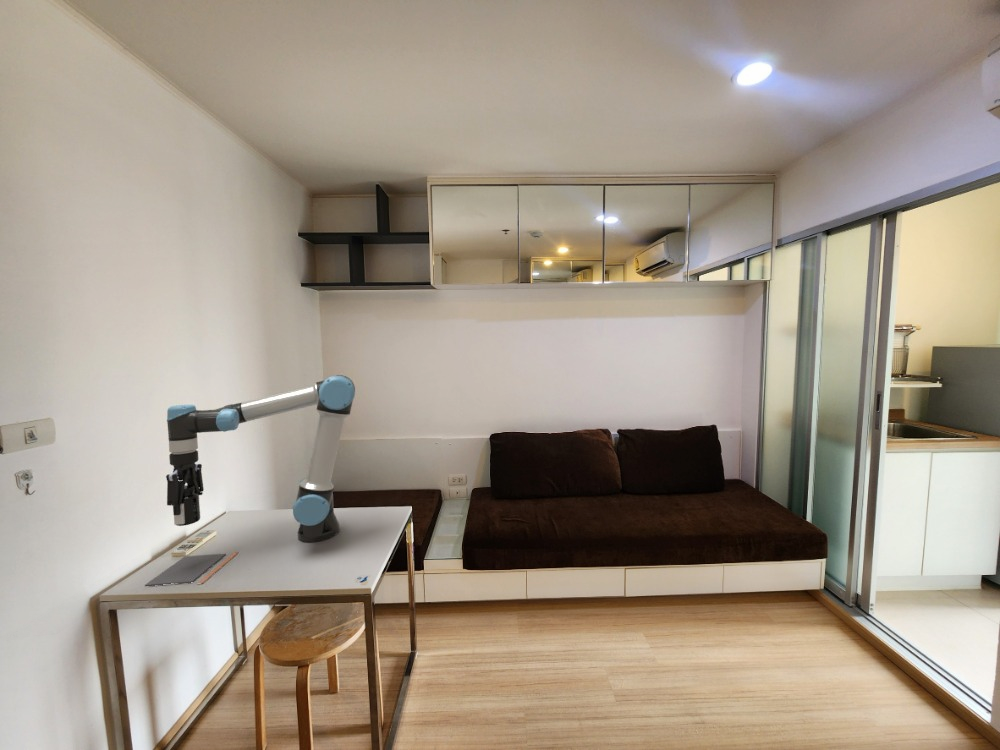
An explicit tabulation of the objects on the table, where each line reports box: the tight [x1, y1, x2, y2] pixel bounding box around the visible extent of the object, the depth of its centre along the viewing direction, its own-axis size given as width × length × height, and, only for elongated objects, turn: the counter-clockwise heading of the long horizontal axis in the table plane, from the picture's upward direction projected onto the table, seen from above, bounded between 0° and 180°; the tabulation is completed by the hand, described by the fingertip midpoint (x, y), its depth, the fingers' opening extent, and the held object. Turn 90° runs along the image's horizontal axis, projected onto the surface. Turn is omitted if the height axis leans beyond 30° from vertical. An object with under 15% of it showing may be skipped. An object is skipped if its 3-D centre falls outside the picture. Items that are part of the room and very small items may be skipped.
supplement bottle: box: [175, 484, 201, 527], centre depth 134 cm, size 7×7×12 cm
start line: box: [197, 551, 239, 584], centre depth 136 cm, size 2×20×1 cm, turn 5°
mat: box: [144, 553, 227, 587], centre depth 135 cm, size 14×18×1 cm
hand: (187, 519), depth 134 cm, fingers closed on supplement bottle, 7 cm apart
